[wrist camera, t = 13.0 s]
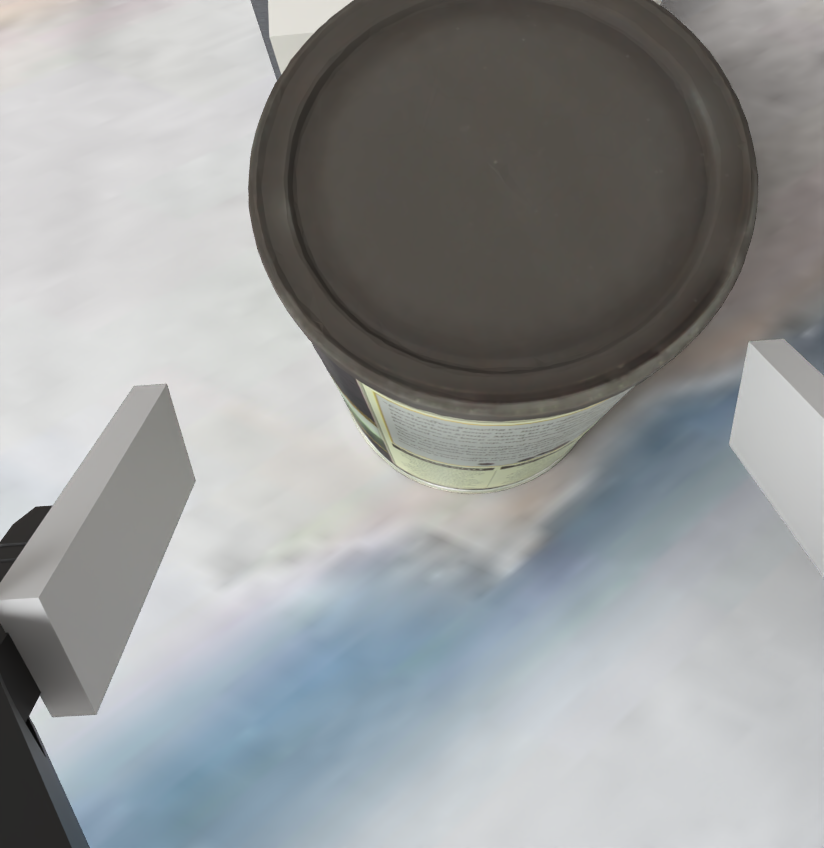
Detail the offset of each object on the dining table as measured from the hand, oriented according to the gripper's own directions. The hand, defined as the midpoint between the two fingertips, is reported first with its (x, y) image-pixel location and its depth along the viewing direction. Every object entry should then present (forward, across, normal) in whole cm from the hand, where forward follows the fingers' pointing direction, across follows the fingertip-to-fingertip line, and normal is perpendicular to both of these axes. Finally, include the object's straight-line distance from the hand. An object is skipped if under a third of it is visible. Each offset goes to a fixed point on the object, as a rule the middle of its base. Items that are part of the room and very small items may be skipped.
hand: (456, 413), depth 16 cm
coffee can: (+11, +1, -5) cm, 12 cm away
